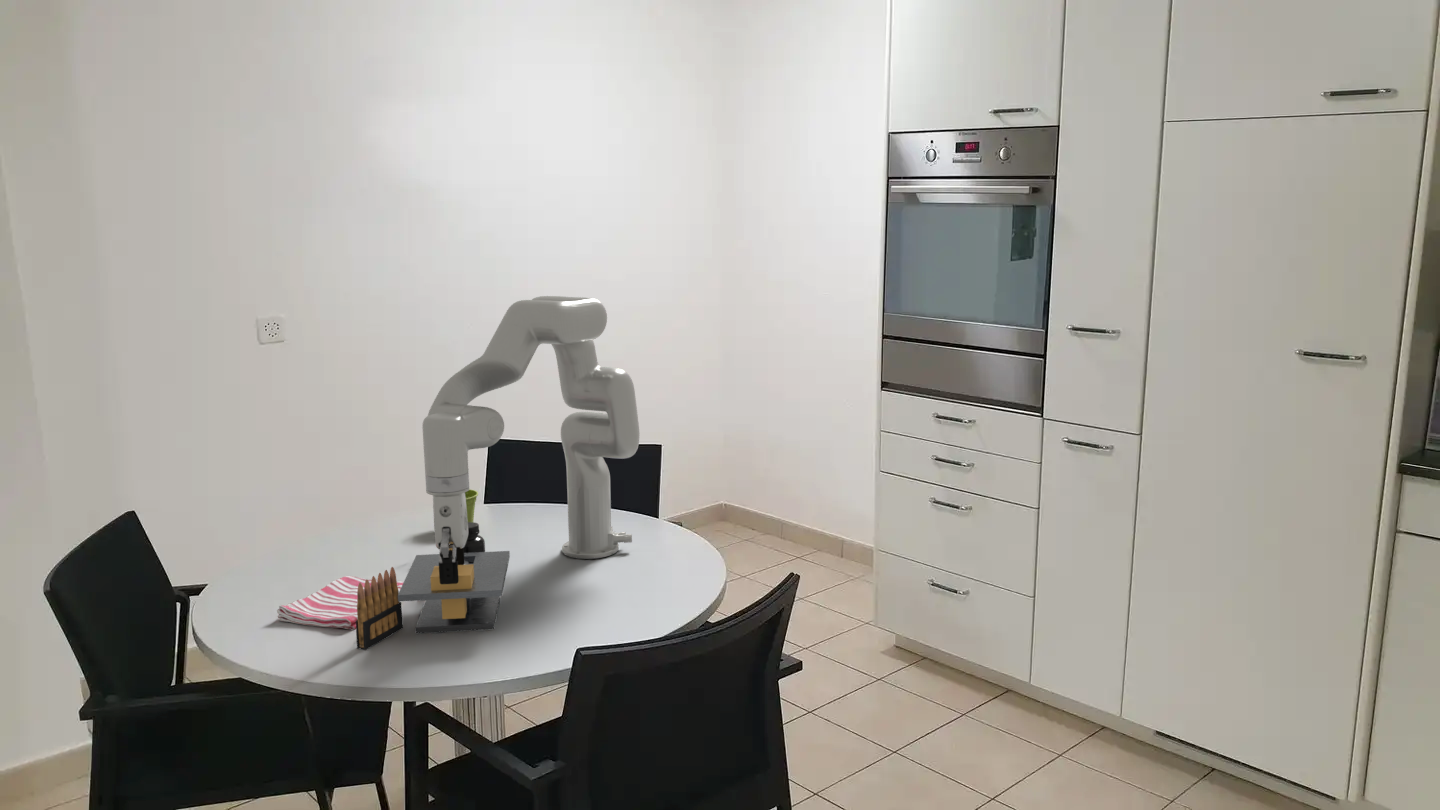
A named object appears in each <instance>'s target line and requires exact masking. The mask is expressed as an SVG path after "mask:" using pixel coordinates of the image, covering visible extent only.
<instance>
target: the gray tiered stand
mask: <svg viewBox="0 0 1440 810" xmlns="http://www.w3.org/2000/svg"><path fill="white" fill-rule="evenodd" d="M510 554H511V553H510V550H501V551H500V550H499V551H485V552H473V553H464V565H469V563H468V562H474V563H473V564H474V580H473V584H472V588H471V589H454V590H435V591H431V578H430V577H431V575H432V572H433V569H434V566H439V553H435V554H433V553H432V554H416V555H415V557H414V560H413V561H412V564H411V566H410V568H409V570H408V572H407V574H406V576H405V579H404V581H403V582H404V583H403V585H402V587H401V589H400V591H399V594H398V602H399V601H400V602H413V601H414V602H415V601H417V602H419V601H424V604H423V607H422V609H421V612H420V615H419V616H418V619H417V622H416V625H415V628H414V629H415V634H416V635H418V634H434V633H453V632H470V631H471V632H472V631H473V632H474V631H491V630H495V627H496V622H497V617H498V613H499V607H500V602H501V601H500V600H501V599H500V597H503V592H504V588H505V583H506V577H507V573H508V572H507V571H508V568H509V561H510V556H511V555H510ZM459 598H466V604H467V612H466V616H465V618H456V619H442V602H441V599H459Z"/></svg>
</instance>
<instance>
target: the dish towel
mask: <svg viewBox="0 0 1440 810" xmlns="http://www.w3.org/2000/svg"><path fill="white" fill-rule="evenodd" d="M367 580H368V581H369V584H370V587H371V580H372V578H371V579H367ZM365 581H366V578H363V577H358V576H352V575H350V576H349V575H344V576H342V577H340V578H336V579H335V580H332V581H331V582H330V583H328V584H326V585H325V586H324V587H323V588H321V589H319V590H317V591H315V592H313V593H311V594H310V595H307V596H306V597H304V598H299V599H297V600H295V601H293V602H291V603H288V604H286V605H285V604H284V605H281V604H280V605H279V606H278V609H277V610H276V612H277V613H276V614H278V615H277V619H278V621H281V622H287V623H288V622H289V623H293V624H299V625H304V626H314V627H321V628H322V627H323V628H338V629H348V630H352V631H354V630H356V621H357V620H358V616H357V603H358V602H357V598H358V597H357V591H358V585H359V583H361V584H362V586H363V589H364V586H365ZM376 581H377V579H376ZM383 581H384V579H383ZM403 583H404V581H399V580H398V581H397V586H398V592H399V591H400V589H401V587H402V585H403ZM399 602H401V601H399Z"/></svg>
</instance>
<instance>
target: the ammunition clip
mask: <svg viewBox="0 0 1440 810" xmlns="http://www.w3.org/2000/svg"><path fill="white" fill-rule="evenodd" d="M389 571H390V572H389ZM389 571H388V570H387V569H384V573H383V575H382V573H381V572H379V573H378V576H377V579H376V577H375V576H374V575H373V576H372V578H371V579H372V580H371V587H370V584H369V581H368V580H367V579H366V578H365V579H366V581H365V586H364V589H363V586H362V584H361V583H359V585H358V591H357V597H358V598H357V602H358V603H357V616H358V620H357V621H356V629H355V630H356V632H355V633H356V649H358V650H365V651H366V650H368V649H369V648H372V647H373V646H375V645H377V644H379V643H380V642H382V641H383V640H385V639H387V638H389V637H390V636H392V635H394V634H395V633H398V631H401V630H402V629H404V621H403V610H402V601H400V602H398V594H399V592H398V586H397V574H396V571H395V568H394V567H393V566H391V568H390V570H389ZM376 580H377V581H376ZM383 580H384V581H383Z"/></svg>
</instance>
